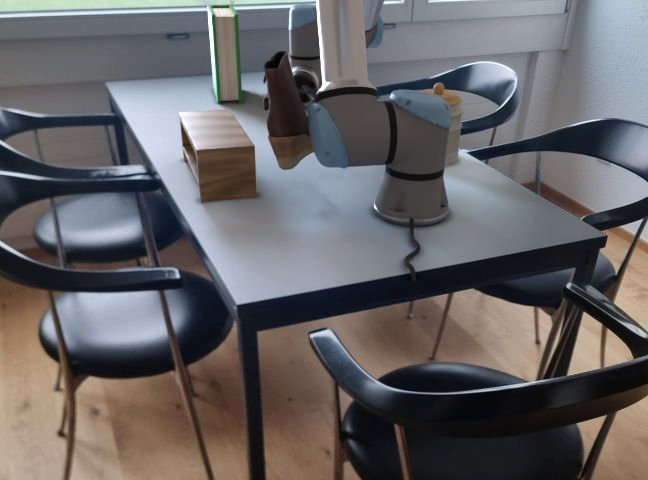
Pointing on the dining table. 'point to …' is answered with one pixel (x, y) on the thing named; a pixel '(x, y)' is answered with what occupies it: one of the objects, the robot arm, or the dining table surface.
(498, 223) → the dining table surface
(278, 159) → the boot
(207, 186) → the shoe rack
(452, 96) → the jar
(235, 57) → the hardback book
